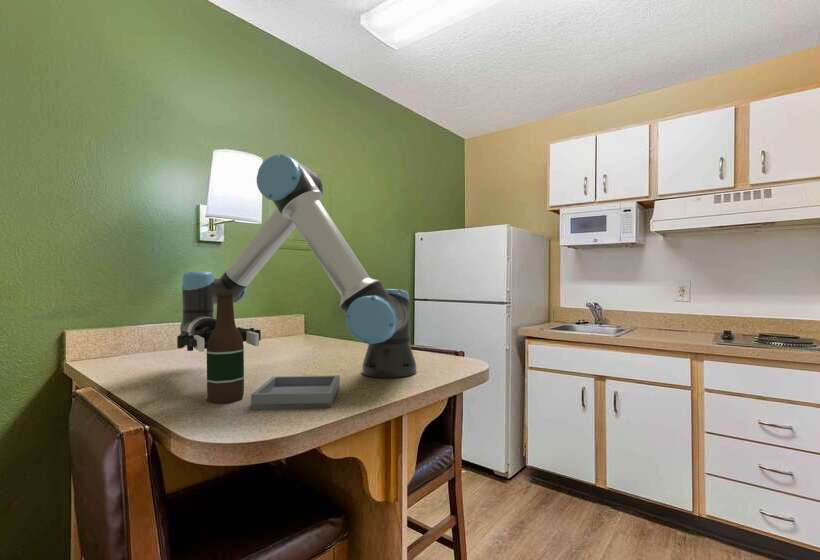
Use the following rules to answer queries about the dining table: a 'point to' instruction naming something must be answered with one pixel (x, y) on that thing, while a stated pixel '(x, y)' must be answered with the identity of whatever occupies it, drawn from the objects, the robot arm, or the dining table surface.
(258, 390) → the tray
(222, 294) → the beer bottle
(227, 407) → the dining table surface
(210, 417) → the dining table surface
